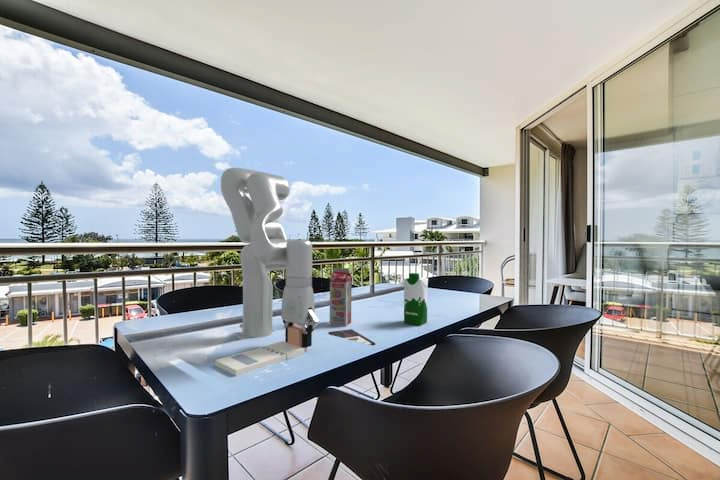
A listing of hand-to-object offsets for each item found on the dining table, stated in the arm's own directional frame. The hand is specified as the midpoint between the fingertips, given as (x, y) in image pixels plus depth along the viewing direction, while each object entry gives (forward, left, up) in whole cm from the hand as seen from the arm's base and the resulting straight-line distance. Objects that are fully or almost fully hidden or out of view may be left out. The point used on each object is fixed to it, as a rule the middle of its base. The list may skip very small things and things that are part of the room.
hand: (298, 343), depth 96 cm
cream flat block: (0, -15, -1) cm, 15 cm away
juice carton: (-14, +33, -3) cm, 36 cm away
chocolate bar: (+2, +21, -3) cm, 21 cm away
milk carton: (+7, +55, -3) cm, 55 cm away
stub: (0, -3, -1) cm, 4 cm away
